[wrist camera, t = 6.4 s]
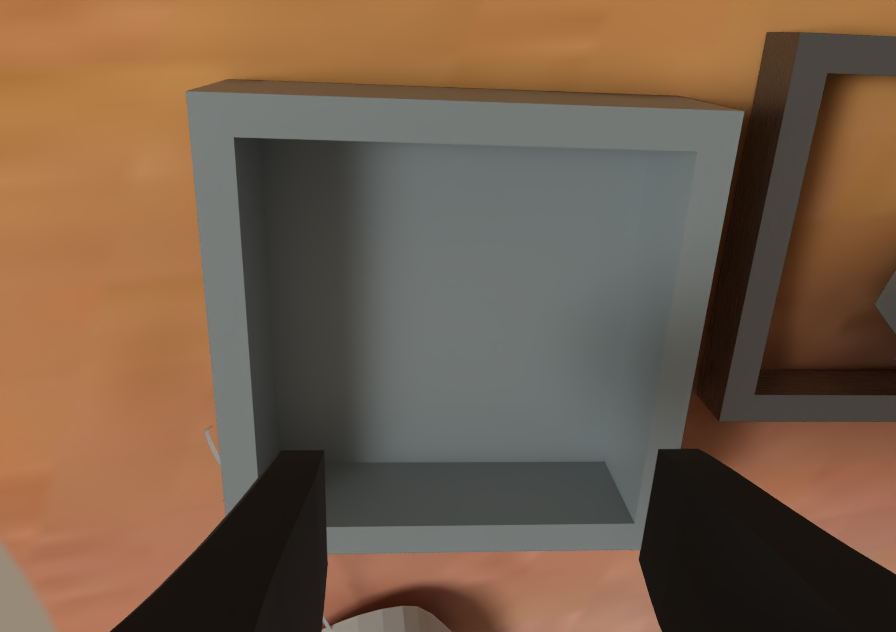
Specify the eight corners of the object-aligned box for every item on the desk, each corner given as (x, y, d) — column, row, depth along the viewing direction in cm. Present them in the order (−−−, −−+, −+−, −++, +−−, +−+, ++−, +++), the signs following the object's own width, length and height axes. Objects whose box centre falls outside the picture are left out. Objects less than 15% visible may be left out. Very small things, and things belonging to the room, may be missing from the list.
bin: (620, 469, 21) (661, 549, 18) (256, 470, 20) (229, 555, 17) (678, 96, 17) (744, 111, 14) (228, 79, 16) (185, 90, 13)
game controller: (359, 736, 24) (355, 814, 22) (78, 540, 20) (35, 608, 18) (485, 644, 23) (495, 715, 20) (211, 420, 19) (184, 475, 17)
